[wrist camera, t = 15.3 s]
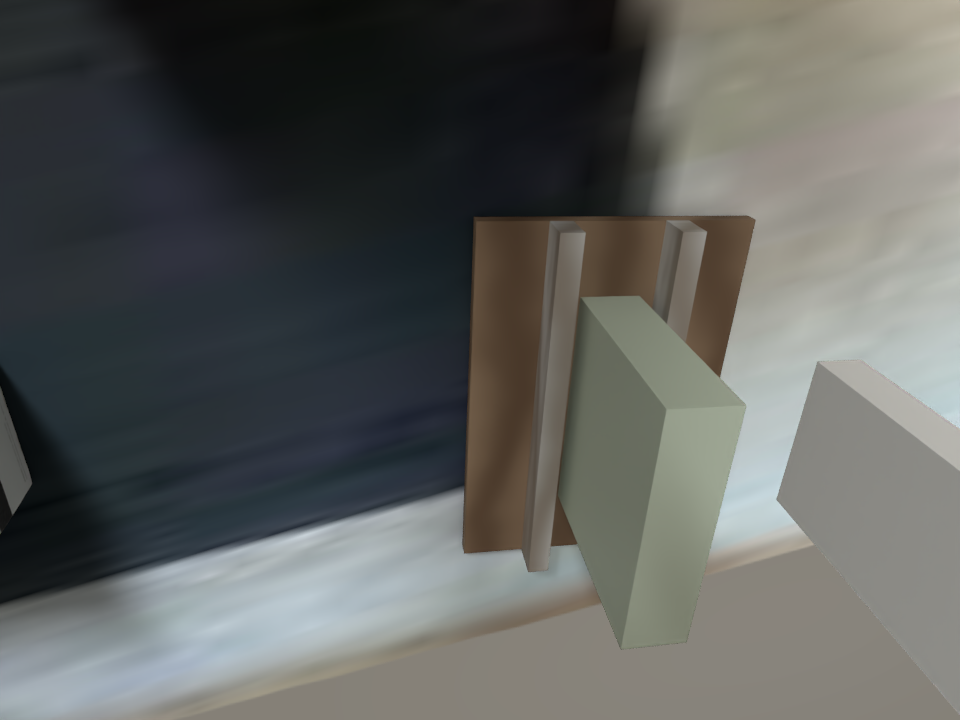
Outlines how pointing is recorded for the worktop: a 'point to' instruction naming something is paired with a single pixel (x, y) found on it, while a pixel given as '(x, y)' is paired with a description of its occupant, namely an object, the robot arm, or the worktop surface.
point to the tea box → (10, 468)
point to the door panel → (644, 466)
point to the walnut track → (570, 346)
